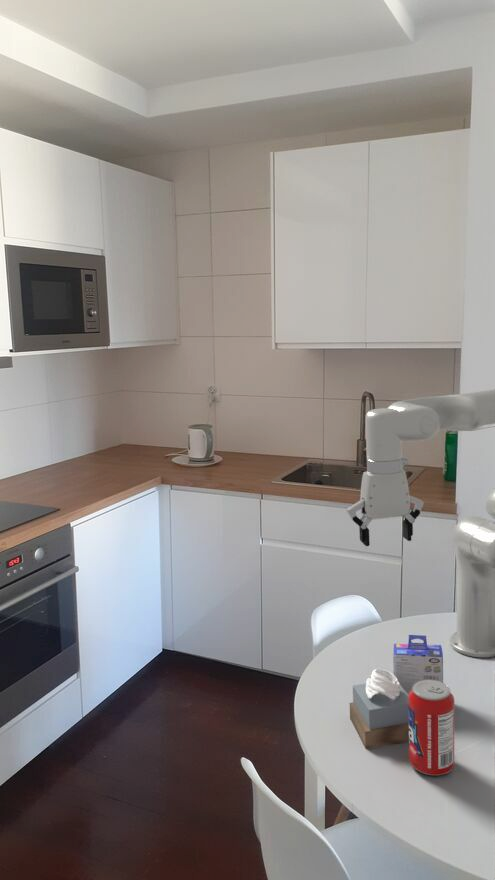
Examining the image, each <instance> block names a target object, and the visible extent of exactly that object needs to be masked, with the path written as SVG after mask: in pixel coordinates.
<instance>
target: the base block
mask: <svg viewBox="0 0 495 880" xmlns="http://www.w3.org/2000/svg"><path fill="white" fill-rule="evenodd" d="M349 719H350V721H351V723H352V725H353V727H354V730H355V731H356V733H357V735H358V737H359V739H360V741H361V742H362V745H363V747H364V748H365V750H367V749H375V748H380V747H387V746H394V745H395V746H396V745H401V744H407V743H408V744H409V723H405V724H400V725H394V726H388V727H382V728H376V729H370V730H369V728H368V726H367V725H366V723H365V722H364V720H363V719H362V717H361V715H360V714H359V712H358V711H357V709H356V708H355V706H354V704H353V701H352V702H349Z"/></svg>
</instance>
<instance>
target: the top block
mask: <svg viewBox="0 0 495 880" xmlns="http://www.w3.org/2000/svg"><path fill="white" fill-rule="evenodd" d="M399 689H400V692H399V694H400V695H399V696H398V697H395V696H394V697H395V698H394V699H391V698H389V697H387V696H386V695H383V694H381V693H378V694H375V695H374V696H372V699H370V698H368V697H367V694H366V683H360V684H355V685H352V702H353V704H354V706H355V708H356V709H357V711H358V712H359V714H360V715H361V717H362V719H363V720H364V722H365V723H366V725H367V726H368V728H369V730H370V729H376V728H382V727H388V726H394V725H400V724H405V723H409V717H408V694H407V693H406V692H405V690H404V689H403V688H402V686H401V685H400V687H399Z"/></svg>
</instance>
